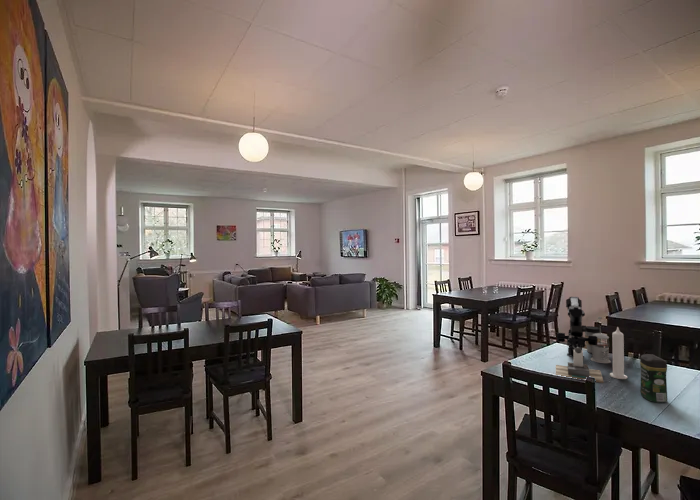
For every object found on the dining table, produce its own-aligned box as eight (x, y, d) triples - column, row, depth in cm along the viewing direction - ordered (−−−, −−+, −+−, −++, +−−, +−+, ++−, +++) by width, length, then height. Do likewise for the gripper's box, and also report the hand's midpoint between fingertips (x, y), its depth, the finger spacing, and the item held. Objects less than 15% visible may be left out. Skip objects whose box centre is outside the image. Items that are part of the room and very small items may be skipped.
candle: (630, 379, 178) (629, 328, 177) (614, 378, 179) (613, 328, 179) (622, 374, 185) (622, 325, 184) (607, 373, 186) (606, 325, 185)
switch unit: (555, 366, 198) (555, 356, 198) (600, 372, 188) (600, 361, 188) (555, 376, 184) (555, 365, 184) (603, 383, 174) (603, 371, 174)
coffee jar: (637, 393, 162) (636, 352, 162) (658, 394, 160) (657, 353, 160) (648, 402, 153) (648, 358, 152) (671, 404, 151) (670, 360, 150)
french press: (586, 359, 209) (585, 316, 208) (598, 356, 214) (598, 313, 213) (604, 364, 200) (603, 319, 199) (616, 360, 205) (616, 316, 204)
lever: (573, 362, 188) (573, 345, 184) (582, 363, 186) (582, 346, 182) (573, 366, 186) (573, 349, 182) (582, 367, 184) (583, 350, 180)
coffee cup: (605, 354, 216) (605, 329, 216) (589, 354, 217) (589, 329, 216) (595, 349, 226) (595, 325, 225) (580, 350, 226) (579, 326, 226)
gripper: (556, 318, 202) (556, 342, 193) (597, 320, 193) (599, 347, 184) (556, 328, 209) (557, 353, 200) (595, 332, 200) (597, 357, 191)
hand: (577, 352), depth 193 cm, fingers closed
